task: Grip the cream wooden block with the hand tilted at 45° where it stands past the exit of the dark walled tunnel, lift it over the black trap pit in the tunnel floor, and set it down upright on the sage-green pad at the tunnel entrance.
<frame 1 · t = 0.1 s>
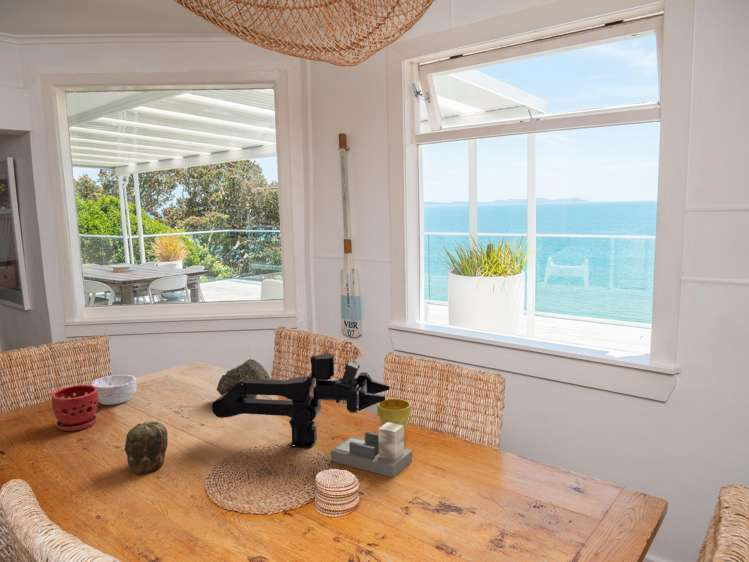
hand: (387, 392, 156), 17 cm above the table, tool horizontal, fingers open, 9 cm apart
plant pot 2: (77, 426, 176), on the table
olive lumpy chunk: (148, 466, 148), on the table
plant pot: (394, 434, 167), on the table
tunnel deck: (372, 461, 149), on the table
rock: (240, 403, 197), on the table
white bowl: (115, 401, 200), on the table
cream block: (391, 455, 146), point 3 cm above the table, touching tunnel deck
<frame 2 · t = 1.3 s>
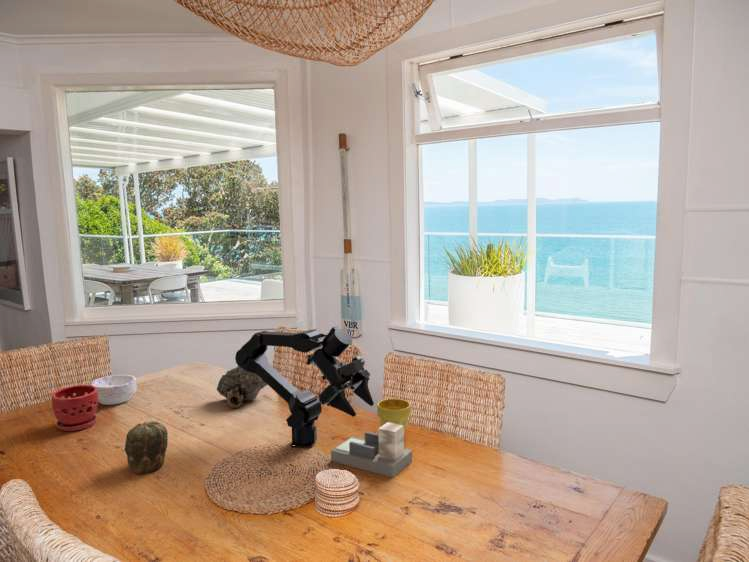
hand: (364, 410, 149), 14 cm above the table, tool tilted 45°, fingers open, 9 cm apart
nothing on the table moved.
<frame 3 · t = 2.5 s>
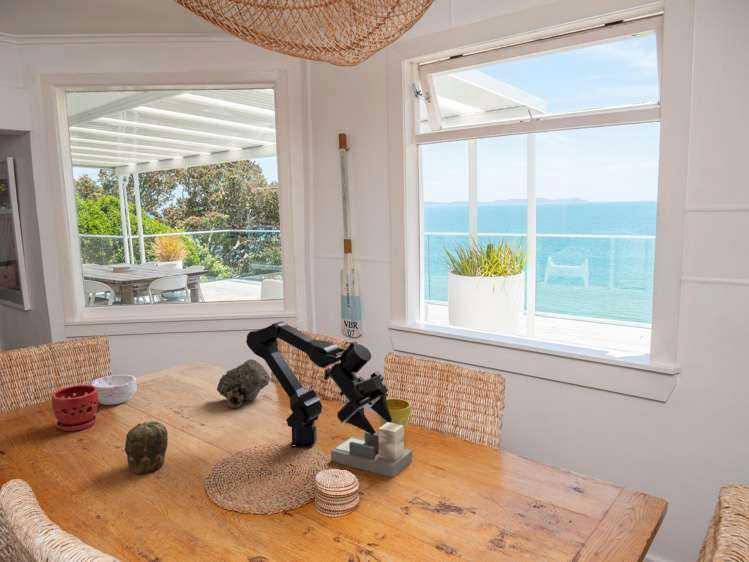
hand: (382, 427, 146), 10 cm above the table, tool tilted 45°, fingers open, 9 cm apart
nothing on the table moved.
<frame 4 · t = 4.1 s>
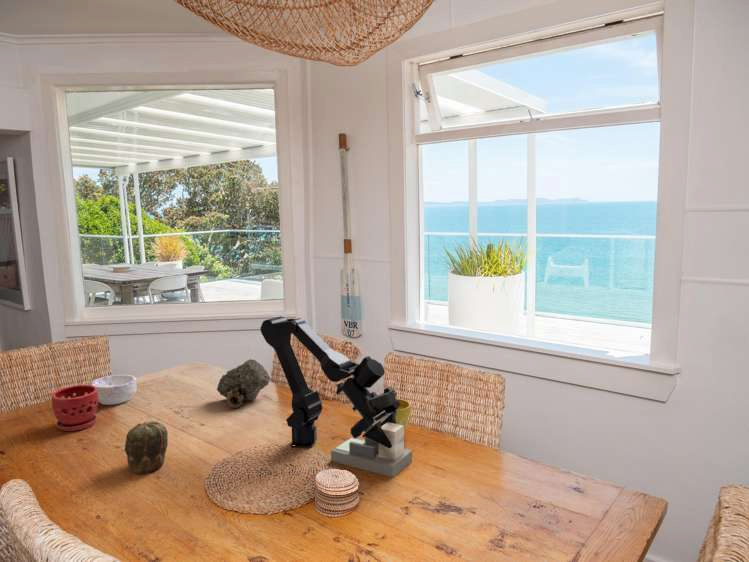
hand: (395, 443, 145), 7 cm above the table, tool tilted 45°, fingers closed on cream block, 5 cm apart
cream block: (391, 455, 146), point 3 cm above the table, touching gripper, tunnel deck
everything else where it was.
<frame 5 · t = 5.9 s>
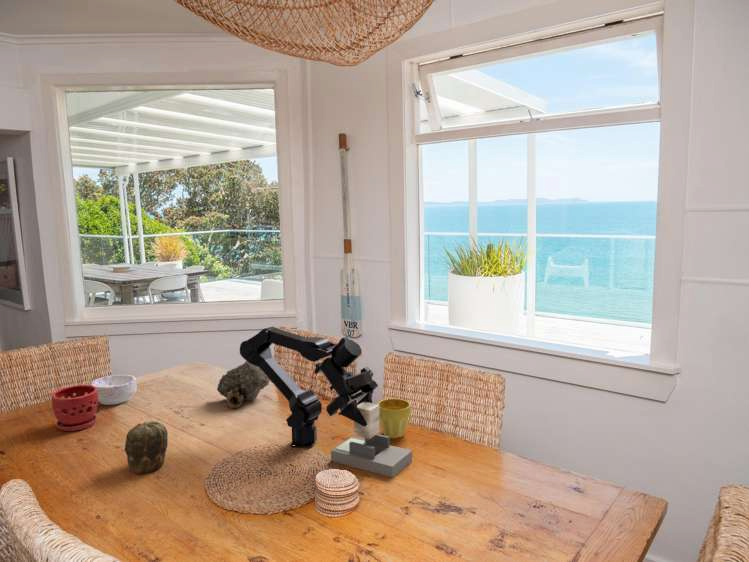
hand: (371, 422, 148), 11 cm above the table, tool tilted 45°, fingers closed on cream block, 5 cm apart
cream block: (366, 433, 149), point 7 cm above the table, touching gripper
everything else where it was.
when the fingers open (8 cm above the table, at t = 7.5 s): cream block drops 2 cm, resting on tunnel deck.
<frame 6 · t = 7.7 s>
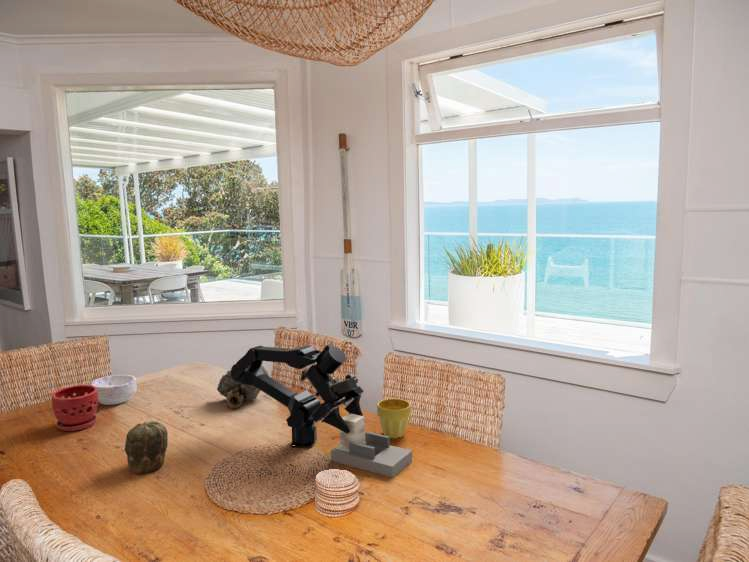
hand: (356, 427, 151), 9 cm above the table, tool tilted 45°, fingers open, 7 cm apart
cream block: (352, 445, 152), point 3 cm above the table, touching tunnel deck
everything else where it was.
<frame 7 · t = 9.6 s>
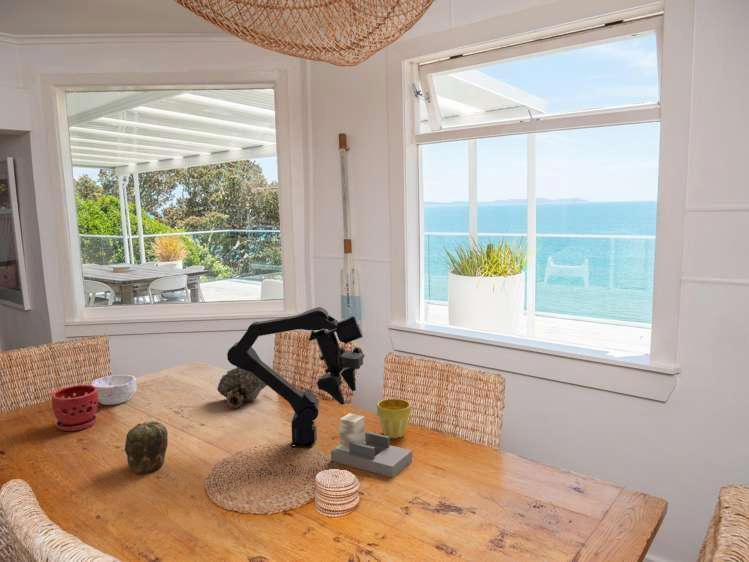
hand: (348, 397, 160), 14 cm above the table, tool tilted 20°, fingers open, 9 cm apart
nothing on the table moved.
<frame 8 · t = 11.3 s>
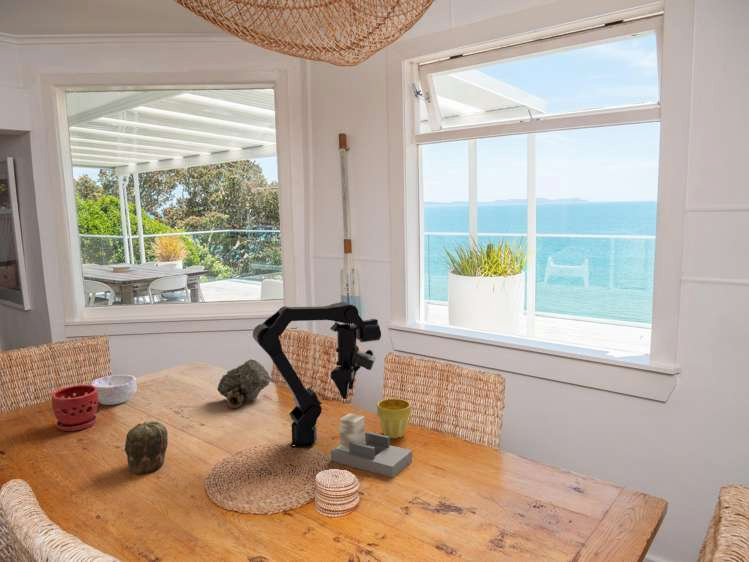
hand: (347, 393, 166), 13 cm above the table, tool pointing down, fingers open, 9 cm apart
nothing on the table moved.
at the end: cream block 0.1 cm from the target spot on the tunnel deck, point 3.2 cm above the tunnel deck's base; cream block tilted 0°; the gripper is holding nothing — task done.
